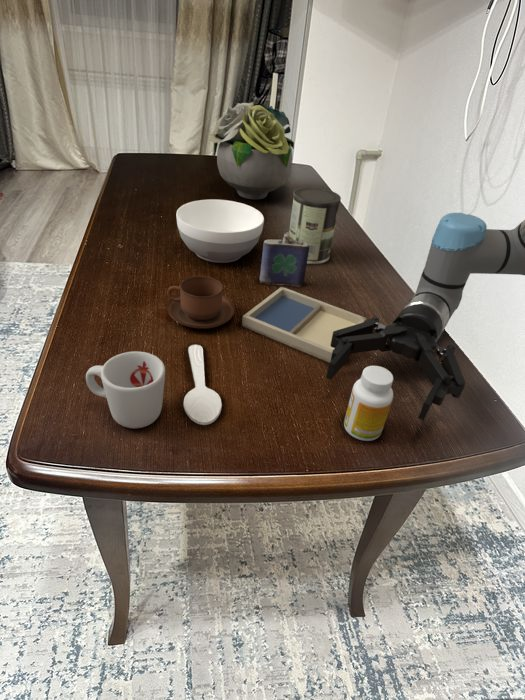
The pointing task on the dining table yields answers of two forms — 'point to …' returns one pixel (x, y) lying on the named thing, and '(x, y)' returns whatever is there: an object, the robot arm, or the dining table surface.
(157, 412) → the cup
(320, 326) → the sorting tray
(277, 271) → the flask
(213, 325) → the cup and saucer
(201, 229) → the bowl
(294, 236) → the coffee can
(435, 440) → the dining table surface
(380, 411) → the supplement bottle
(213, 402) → the spoon
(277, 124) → the flower arrangement
